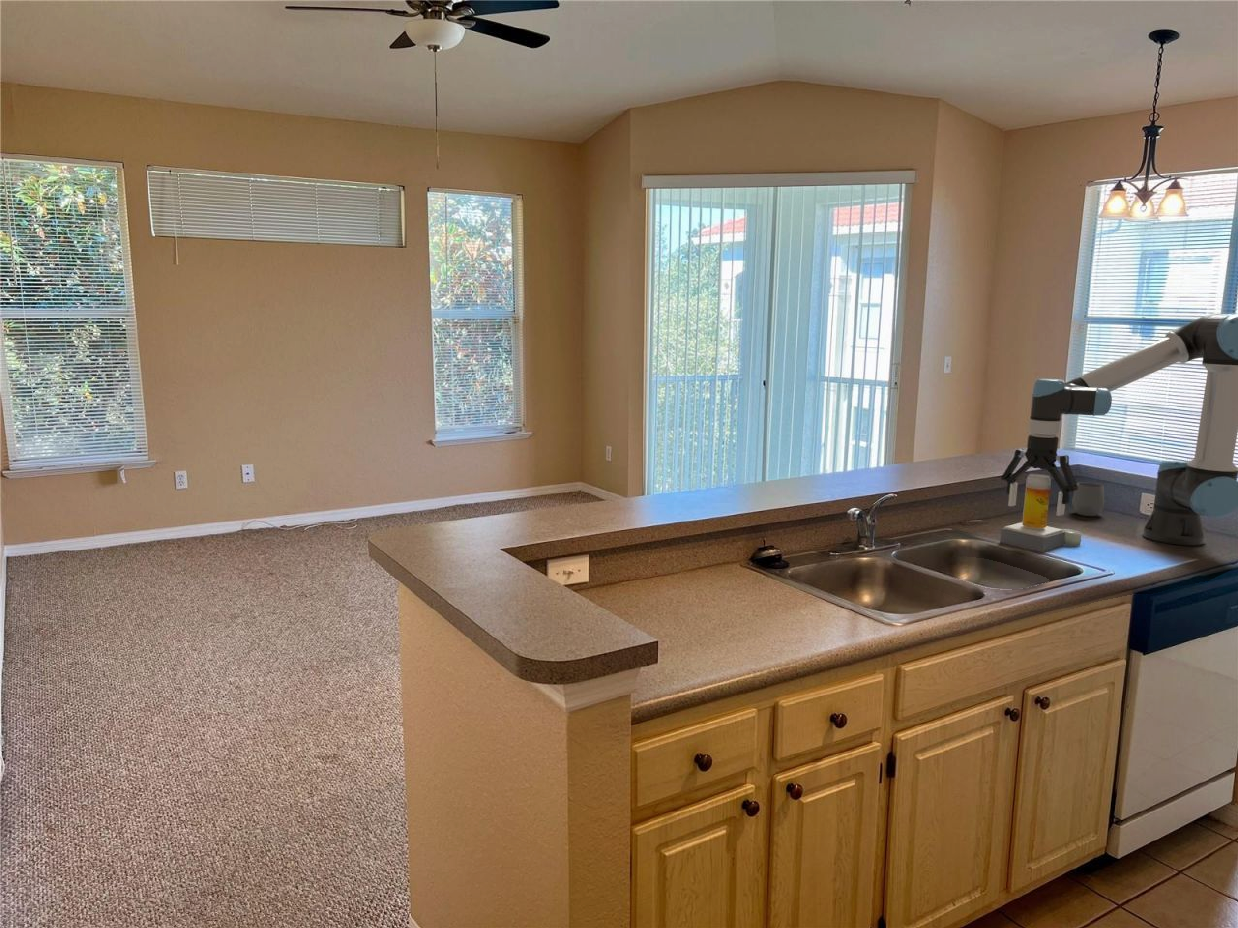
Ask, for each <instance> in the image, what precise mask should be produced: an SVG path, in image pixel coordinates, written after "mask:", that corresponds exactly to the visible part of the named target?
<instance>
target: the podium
mask: <svg viewBox="0 0 1238 928" xmlns="http://www.w3.org/2000/svg"><path fill="white" fill-rule="evenodd" d="M1063 529H1064V528H1057V527H1053V526H1049V525H1046V527H1045V528H1044V529H1043V530H1030V529H1026V528H1024V526H1023V525H1022V522H1017V523H1014V524H1010V525H1006V526H1004V527H1003V528H1002V527H1001V532H1000V539H999V540H1000V543H1002V544H1006V545H1011V546H1014V547H1019V548H1023V549H1027V550H1032V551H1036V552H1040V553H1044V552H1047V551H1051V550H1053V549H1054V550H1055V549H1058V548H1061V547H1063V546H1065V545H1064V538H1065V532H1064V531H1063Z"/></svg>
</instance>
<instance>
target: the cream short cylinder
mask: <svg viewBox="0 0 1238 928" xmlns="http://www.w3.org/2000/svg"><path fill="white" fill-rule="evenodd" d="M1062 529H1063V531H1064V532H1065V538H1064V546H1067V547H1068V546H1069V547H1079V546H1081V544H1082V543H1081V542H1082V535H1083V533H1082V531H1079V530H1076V529H1071V528H1062Z"/></svg>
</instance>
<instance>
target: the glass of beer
mask: <svg viewBox="0 0 1238 928" xmlns="http://www.w3.org/2000/svg"><path fill="white" fill-rule="evenodd" d="M1051 483H1052V479H1051V477H1050V476H1049V475H1047V474H1039V473H1030V474H1028V476H1027V478H1026V484H1025V492H1024V500H1023V501H1024V503H1023V512H1022V525H1023V526H1024V528H1026V529H1030V530H1043V529H1044V528H1045V527H1046V526H1047V522H1048V513H1049V505H1050V504H1049V503H1050V496H1051V495H1050V494H1051V486H1052V485H1051Z"/></svg>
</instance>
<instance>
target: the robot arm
mask: <svg viewBox="0 0 1238 928" xmlns="http://www.w3.org/2000/svg"><path fill="white" fill-rule="evenodd" d="M1196 359H1197V360H1198V359H1202V362H1201V363H1202V366H1203V367H1204V368H1205V369H1206V371H1207V376H1206V381H1205V387H1204V394H1203V401H1202V408H1201V414H1200V420H1199V426H1198V433H1197V439H1196V440H1197V441H1196V446H1195V451H1194V452H1195V453H1194V458H1193V459H1191V460H1190V461H1184V460H1183V461H1181V460H1180V461H1179V460H1178V461H1175V460H1164V461H1161V462H1160V463H1159V465H1158V469H1157V472H1156V475H1157V477H1156V484H1155V493H1154V500H1153V508H1152V511H1151V514H1150V515H1149V517H1148V519H1147V521H1146V523H1145V525H1144V527H1143V529H1142V530H1143V531H1142V536H1143V537H1145V538H1147V539H1148V540H1153V541H1156V542H1160V543H1166V544H1169V545H1170V544H1171V545H1177V546H1178V545H1179V546H1201V545H1204V544H1205V539H1206V533H1205V528H1204V525H1203V521H1202V516H1203V517H1208V518H1212V519H1213V518H1214V519H1219V518H1225V517H1227V516H1229V515H1231V514H1232V513H1234V512H1236V511H1237V510H1238V466H1237V465H1236V464H1234V456H1235V451H1236V444H1237V439H1238V313H1212V314H1209V315H1204V316H1201V317H1199V318H1197V319H1195V320H1192V321H1190V322H1187V323H1185V324H1183V325H1181V326H1180V327H1177V328H1175V329H1174V330H1171V331H1168V332H1167V333H1166V334H1165V336H1164V338H1162V339H1160V340H1157V341H1155V342H1153V343H1151V344H1149V345H1147V346H1145V347H1142V348H1140V349H1137V350H1136V351H1134V352H1131V353H1129V354H1127V355H1125V356H1122V357H1120V358H1118V359H1116V360H1114V361H1111V362H1109V363H1107V364H1105V365H1102V366H1101V367H1097V368H1096V369H1094V370H1091V371H1089V372H1087V373H1085V374H1082V375H1080V376H1078V377H1076V378H1074V379H1071V380H1069V381H1067V382H1066V381H1064V380H1063V379H1059V378H1058V379H1055V378H1038V379H1036V380H1035V382H1034V384H1033V390H1032V393H1031V397H1032V398H1031V407H1030V408H1031V409H1030V420H1029V426H1028V427H1029V428H1028V433H1029V435H1028V437H1027V445H1026V446H1027V447H1026V448H1027V449H1026V450H1024V449H1023V448H1019V449H1016V450H1014V451H1015V452H1014V455H1013V457H1012V459H1011V460H1010V463H1009V464H1008V466H1007V467H1006V469H1005V470H1004V472H1003V473H1002V474H1001V477H1000V478H1001V480H1002V481H1006V482H1007V487H1006V494H1008V504H1007V506H1008V507H1014V506H1016V505H1017V495H1018V486H1019V484H1018V482H1017V480H1018V479H1019V478H1020V477H1022V476H1023V475H1024V474H1025V473H1026V472H1027V471H1028V470H1029V469H1031V468H1033V469H1040V470H1046V471H1048V472H1049V474H1050V475H1051V476H1052V478H1053V480H1054V481H1055V483H1056V484H1057V485H1058V487H1059V488H1060V490H1061V491H1058V496H1057V497H1058V499H1057V508H1056V516H1057V517H1058V516H1059V517H1060V516H1064V515H1065V509H1066V505H1068V504H1069V502H1070V494H1071V492H1075V491H1076V490H1078V487H1077V482H1076V479H1075V477H1074V473H1073V471H1072V469H1071V466H1070V457H1069V455H1067V454H1065V455H1058V453H1057V452H1058V447H1059V437H1058V436H1059V435H1060V428H1061V427H1060V426H1061V420H1062V415H1075V416H1076V415H1077V416H1080V415H1081V416H1093V417H1095V416H1105V415H1107V414H1108V413H1109V411H1110V410H1111V407H1112V404H1113V403H1112V401H1113V400H1112V399H1113V397H1112V396H1113V395H1112V393H1111V392H1113V391H1116V390H1118V389H1120V388H1122V387H1124V386H1127V385H1129V384H1131V383H1134V382H1136V381H1138V380H1140V379H1142V378H1145V377H1147V376H1150V375H1152V374H1153V373H1154V374H1155V373H1156V372H1159V371H1161V370H1163V369H1166V368H1168V367H1170V366H1173V365H1174V364H1177V363H1181V364H1185V363H1188V362H1191V361H1193V360H1196ZM1025 457H1026V460H1027V461H1025V462H1024V463H1023V464H1022V465H1021V467H1020V468H1018V470H1016V468H1017V467H1018V465H1019V464H1020V462H1021V460H1022V459H1023V458H1025ZM1056 462H1058V464H1060V469H1061V471H1062V473H1061V472H1060V470H1059V468H1058V466H1057V465H1056ZM1015 470H1016V471H1015ZM1062 474H1063V475H1062Z"/></svg>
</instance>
